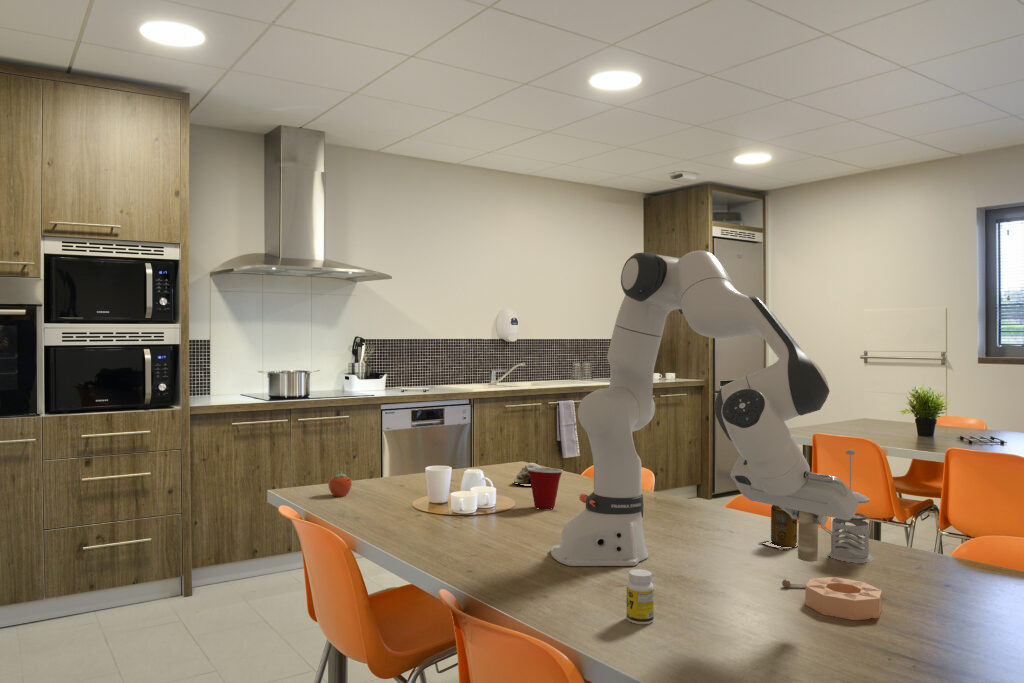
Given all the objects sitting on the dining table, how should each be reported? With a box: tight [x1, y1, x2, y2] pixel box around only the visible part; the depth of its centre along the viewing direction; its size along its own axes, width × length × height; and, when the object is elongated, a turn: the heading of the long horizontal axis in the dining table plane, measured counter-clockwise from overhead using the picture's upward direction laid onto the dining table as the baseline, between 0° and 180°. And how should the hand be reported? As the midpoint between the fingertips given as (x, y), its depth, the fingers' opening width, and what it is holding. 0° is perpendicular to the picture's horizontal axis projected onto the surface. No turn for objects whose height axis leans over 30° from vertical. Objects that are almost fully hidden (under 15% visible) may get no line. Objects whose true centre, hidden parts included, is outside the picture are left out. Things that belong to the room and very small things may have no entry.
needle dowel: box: [797, 511, 819, 563], centre depth 128 cm, size 3×3×13 cm
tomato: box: [328, 470, 353, 498], centre depth 233 cm, size 7×7×8 cm
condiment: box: [757, 505, 798, 551], centre depth 178 cm, size 7×8×12 cm
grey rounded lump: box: [513, 462, 541, 484], centre depth 255 cm, size 12×10×10 cm
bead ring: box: [804, 576, 883, 621], centre depth 135 cm, size 12×12×4 cm
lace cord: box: [781, 578, 807, 589], centre depth 146 cm, size 18×2×2 cm, turn 88°
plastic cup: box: [527, 466, 564, 510], centre depth 217 cm, size 11×11×12 cm
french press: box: [820, 448, 874, 564], centre depth 169 cm, size 10×12×25 cm
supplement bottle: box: [626, 568, 655, 625], centre depth 128 cm, size 5×5×8 cm
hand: (810, 519), depth 128 cm, fingers closed on needle dowel, 3 cm apart
